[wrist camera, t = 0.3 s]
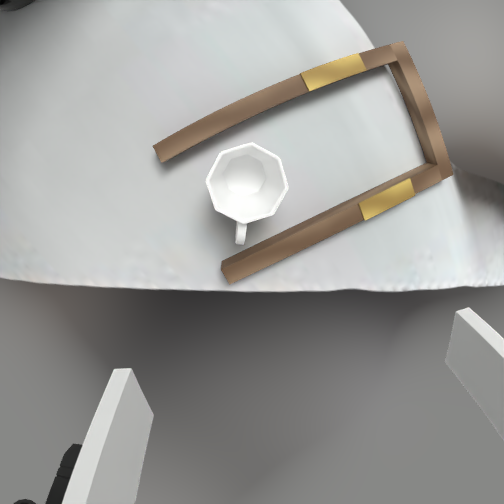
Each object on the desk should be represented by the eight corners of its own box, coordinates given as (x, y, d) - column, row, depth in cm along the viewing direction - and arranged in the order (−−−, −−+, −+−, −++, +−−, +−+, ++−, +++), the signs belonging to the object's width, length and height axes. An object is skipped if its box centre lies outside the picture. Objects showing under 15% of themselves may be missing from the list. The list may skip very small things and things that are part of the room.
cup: (280, 145, 33) (293, 147, 26) (269, 234, 36) (279, 260, 29) (214, 139, 33) (208, 138, 25) (207, 229, 36) (200, 253, 28)
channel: (158, 145, 32) (151, 145, 30) (393, 45, 29) (403, 40, 27) (230, 275, 38) (229, 285, 35) (442, 172, 35) (454, 175, 32)
